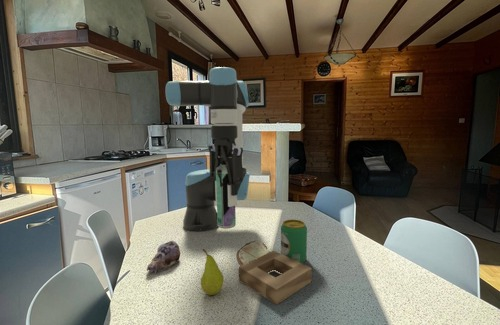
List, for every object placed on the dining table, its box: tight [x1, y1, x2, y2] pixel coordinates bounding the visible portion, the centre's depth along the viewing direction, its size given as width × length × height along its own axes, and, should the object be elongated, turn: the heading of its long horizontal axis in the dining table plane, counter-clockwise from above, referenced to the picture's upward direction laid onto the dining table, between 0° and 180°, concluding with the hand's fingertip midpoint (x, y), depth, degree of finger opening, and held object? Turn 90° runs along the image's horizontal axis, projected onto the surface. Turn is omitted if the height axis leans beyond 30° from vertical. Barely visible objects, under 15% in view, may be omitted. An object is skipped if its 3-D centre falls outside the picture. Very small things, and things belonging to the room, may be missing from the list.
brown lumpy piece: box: [146, 240, 181, 275], centre depth 83 cm, size 12×8×6 cm, turn 150°
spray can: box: [216, 160, 237, 230], centre depth 80 cm, size 6×6×20 cm
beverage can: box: [280, 218, 308, 264], centre depth 85 cm, size 8×8×12 cm
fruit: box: [200, 248, 224, 296], centre depth 68 cm, size 6×6×12 cm
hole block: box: [237, 250, 313, 306], centre depth 74 cm, size 14×14×4 cm
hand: (226, 203), depth 81 cm, fingers closed on spray can, 5 cm apart
